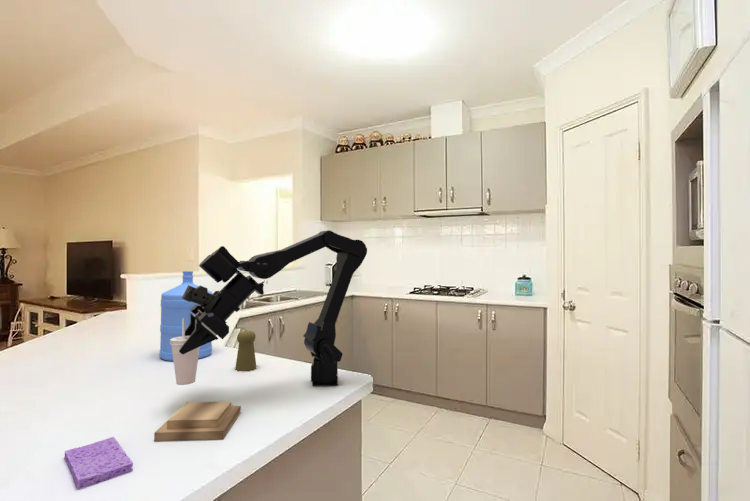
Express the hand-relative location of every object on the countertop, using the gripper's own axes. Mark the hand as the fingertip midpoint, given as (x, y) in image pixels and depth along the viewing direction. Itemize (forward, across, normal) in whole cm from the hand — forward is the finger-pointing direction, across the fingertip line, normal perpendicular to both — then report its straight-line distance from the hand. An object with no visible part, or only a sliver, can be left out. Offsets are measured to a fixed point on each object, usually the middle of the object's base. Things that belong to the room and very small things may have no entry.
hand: (179, 349), depth 85 cm
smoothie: (+4, 0, +6) cm, 8 cm away
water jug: (+5, -48, +14) cm, 50 cm away
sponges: (+19, +19, 0) cm, 27 cm away
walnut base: (+7, +12, +11) cm, 18 cm away
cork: (-5, -23, +23) cm, 33 cm away
